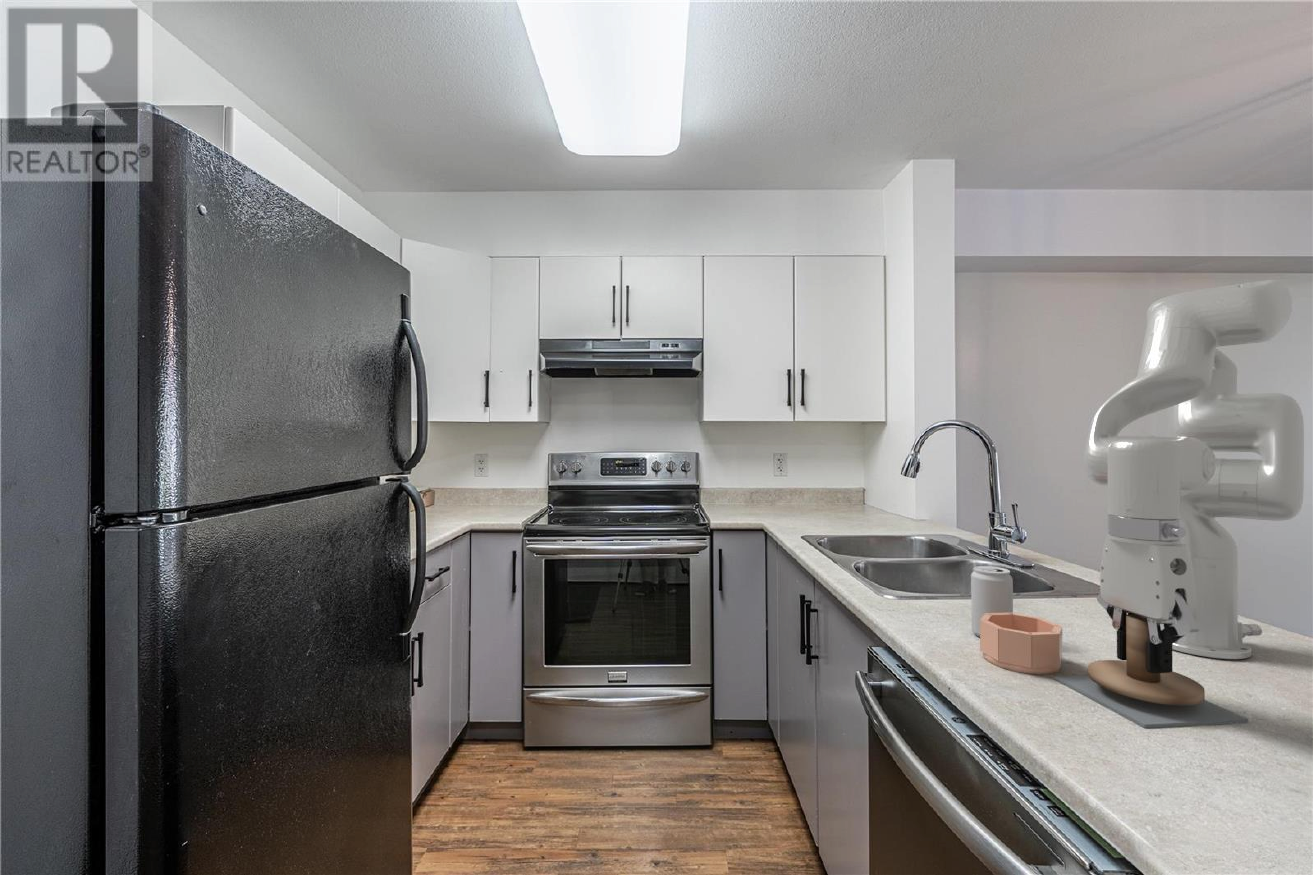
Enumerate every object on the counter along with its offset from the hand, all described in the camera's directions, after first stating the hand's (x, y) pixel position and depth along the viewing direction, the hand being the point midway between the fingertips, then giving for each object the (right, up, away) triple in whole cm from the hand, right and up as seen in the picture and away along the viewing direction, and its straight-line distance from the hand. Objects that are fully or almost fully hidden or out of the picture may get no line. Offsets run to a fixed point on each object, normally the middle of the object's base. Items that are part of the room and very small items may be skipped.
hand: (1143, 664), depth 77 cm
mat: (0, -5, 0) cm, 5 cm away
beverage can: (-6, -5, +24) cm, 26 cm away
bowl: (-8, -5, +13) cm, 16 cm away
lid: (0, -3, 0) cm, 3 cm away
